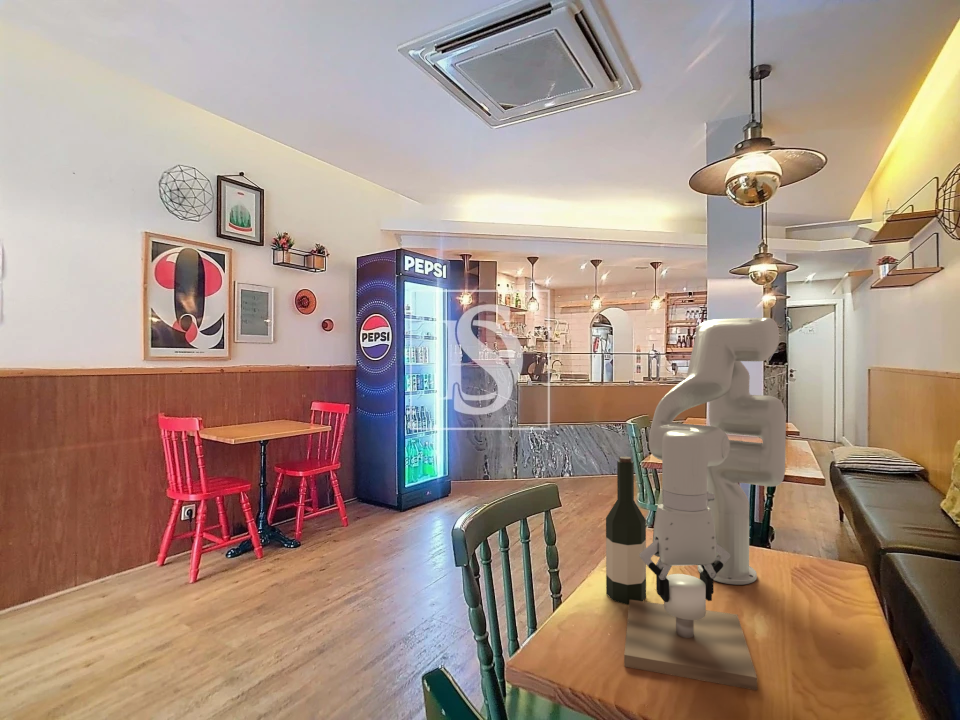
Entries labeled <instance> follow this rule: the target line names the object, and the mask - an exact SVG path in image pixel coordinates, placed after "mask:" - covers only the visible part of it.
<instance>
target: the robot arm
mask: <svg viewBox="0 0 960 720" xmlns="http://www.w3.org/2000/svg"><path fill="white" fill-rule="evenodd" d="M697 325H698V324H697ZM779 342H780V330H779V326H778V324H777V322H776V321H775V320H774V319H773V318H772V317H744V318H743V317H740V318H717V319H710V320H709V319H708V320H706V321H703V322H701V323H700V324H699V325H698V326H697V327H696V329H695V337H694V341H693V345H692V351H691V355H690V359H689V363H688V369H687V372H686V377H685V379H684V380H682V381H680V382H679V383H677V384H676V385H675V386H674V387H672V388H671V389H670V390H669V391H668V392H667V393H666V394H665V395H664V396H663V397H662V398H661V400H659V402H658V404H657V405H656V407H655V410H654V414H653V418H652V420H651V426H650V429H649V434H648V449H649V450H650V453H651V455H652V456H653V457H654V458H656V459H658V460H660V461H662V462H661V463H662V466H661V468H662V469H661V470H662V473H661V474H662V476H661V478H662V481H661V483H662V487H661V488H662V494H661V495H662V497H661V498H662V503H659V504H658V505H657V508H656V512H655V515H654V523H653V530H652V531H653V533H652V542H651V543H650V544H649V545H648V546H646V549H645V550H643V551H642V552H641V553H640V554H639V556H640V558H641V559H642V560H643V561H644V562H645V564H646V567H648V569H649V570H651V571H652V573H654V575H656V577H655V580H656V581H655V582H656V583H655V585H656V587H655V588H656V589H655V590H656V593H657V595H658V596H659V597H660V598H661V600H663V603H664V602H668V601H669V580H668V579H667V578H666V576H668V575H669V572H671V571H670V570H671V568H672V567H673V566H674V567H675V566H677V567H678V566H680V567H681V566H683V567H684V566H685V567H686V566H687V567H688V566H697V571H698V572H699V579H701V580H702V581H703V582H704V583H705V585H706V601H708V602H713V601H712V600H713V594H714V581H715V582H717V583H722V584H728V585H737V586H739V585H740V586H742V585H749V584H752V583H754V582H756V580H757V577H758V574H757V571H756V570H755V569H754V568H753V567H752V566H750V502H749V499H748V496H747V494H746V493H745V491H744V490H743V488H742V487H741V486H740V484H747V485H756V486H764V487H778V486H779V485H781V484H782V483H783V481H784V479H785V475H786V472H785V471H786V443H787V441H786V439H787V438H786V431H787V419H786V410H785V406H784V403H783V402H782V400H781V399H780V398H778V397H775V396H773V395H765V394H764V395H763V394H762V395H761V394H760V395H759V394H751V393H750V379H751V377H750V372H749V370H748V369H747V368H746V366H745V365H744V364H743V362H765V361H767V360H768V359H769V358H770V357H771V356H772V355H773V354H774V353H775V352H776V351H777V348H778V346H779ZM707 403H708V404H709V405H708V420H709V421H708V422H709V425H703V424H702V425H701V424H693V423H692V424H691V423H680V422H679V423H677V422H674V420H675V419H676V418H677V417H678V416H679V415H680V414H681V413H683V412H685V411H687V410H689V409H691V408H695V407H697V406H700V405H704V404H707ZM727 434H728V435H736V436H749V437H758V438H760V439H761V440H762V442H754V441H744V440H736V439H729V437H728V435H727ZM653 556H655V557H657V558H659V559H658V560H657V563H656V564H655V562H654V561H653V560H652V557H653Z"/></svg>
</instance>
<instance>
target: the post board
mask: <svg viewBox="0 0 960 720" xmlns="http://www.w3.org/2000/svg"><path fill="white" fill-rule="evenodd" d="M626 623H627V624H626V632H625V633H626V634H625V643H624V654H623V655H624V657H623V658H624V659H623V662H624V663H623V665H624V666H623V667H626V668H629V669H630V668H632V669H637V670H641V671H642V670H643V671H646V672H647V671H648V672H653V673H660V674H665V675H669V676H674V677H681V678H685V679H686V678H687V679H693V680H696V681H697V680H698V681H704V682H709V683H714V684H720V685H726V686H732V687H738V688H743V689H747V690H748V689H749V690H754V691H757V690H758V677H757V672H756V669H755V667H754V663H753V661H752V657H751V654H750V650H749V647H748V644H747V641H746V638H745V635H744V631H743V629H742V628H743V627H742V624H741V621H740V618H739V615H738V614H736V613H731V612H730V613H729V612H722V611H714V610H708V609H706V615H705V617H703V618H701V619H698V620H686V619H681V618H677V617H675V616H672V615H671V614H669V613H668V612H667V611H666V610H665V609H664V603H657V602H651V601H650V602H649V601H645V600H643V601H637V600H629V604H628V613H627V622H626Z"/></svg>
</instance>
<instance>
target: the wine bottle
mask: <svg viewBox="0 0 960 720" xmlns="http://www.w3.org/2000/svg"><path fill="white" fill-rule="evenodd" d="M634 463H635V462H634V461H633V460H632V457H630V456H620V457H619V459H618V460H617V468H616V469H617V471H616V473H617V475H616V477H617V479H616V481H617V482H616V483H617V484H616V486H617V495H616V496H617V500H616V502H615V503H614V504H613V506H612V508H611V509H610V511H609V512H608V514H607V516H606V517H605V559H606V560H605V561H606V562H605V579H606V580H605V586H606V589H605V591H606V592H605V593H606V595H607V596H608V597H609V598H610V599H611V600H612V601H613V602H617V603H621V604H625V605H628V606H629V600H637V601H645V599H646V597H647V565H646V564H645V562H644V561H643V560H642V559H641V558H640V556H639V554H640V553H641V552H642V551H643V550H645V549H646V548H647V519H646V518H645V517H644V514H643V512H642V511H641V509H640V508H639V506H638V505H637V503H636V502H635V498H634V496H635V492H634V491H635V485H634V483H635V482H634V481H635V477H634V474H635V465H634Z"/></svg>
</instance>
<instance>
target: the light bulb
mask: <svg viewBox="0 0 960 720" xmlns="http://www.w3.org/2000/svg"><path fill="white" fill-rule="evenodd" d="M666 578H667V579H668V580H669V601H668V602H664V601H663V604H664V609H665V610H666V611H667V612H668V613H669V614H671V615H672V616H675V617H677V618H681V619H686V620H698V619H701V618H703V617H705V615H706V610H707V608H706V607H707V605H706V603H707V600H706V585H705V583H704V582H703V581H702V580H701V579H700V577H697V576H694V575H690V574H683V573H672V574H667V576H666Z"/></svg>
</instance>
